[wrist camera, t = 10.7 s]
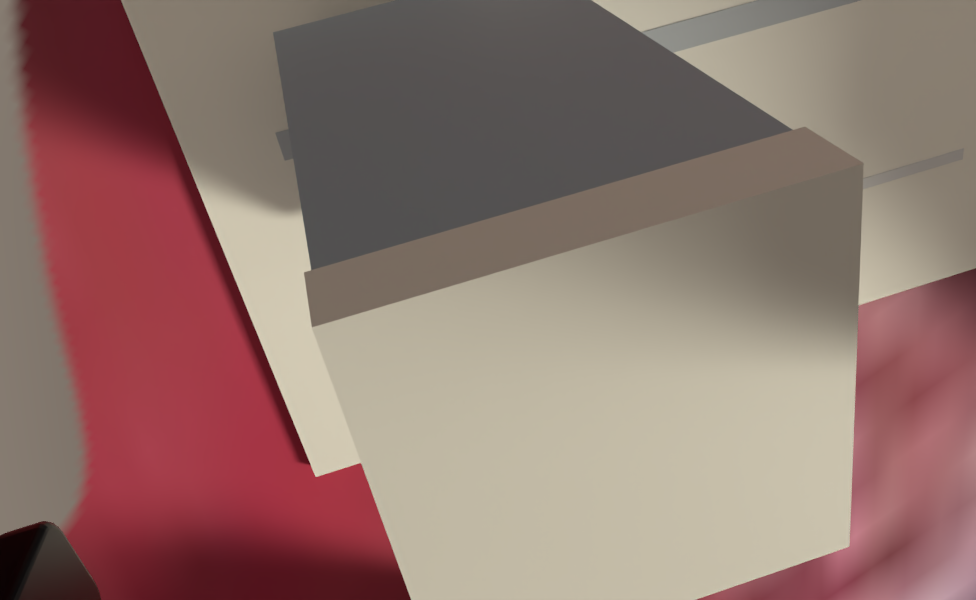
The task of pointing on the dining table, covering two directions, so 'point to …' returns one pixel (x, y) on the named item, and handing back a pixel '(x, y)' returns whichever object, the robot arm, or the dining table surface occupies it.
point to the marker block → (574, 301)
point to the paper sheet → (665, 19)
